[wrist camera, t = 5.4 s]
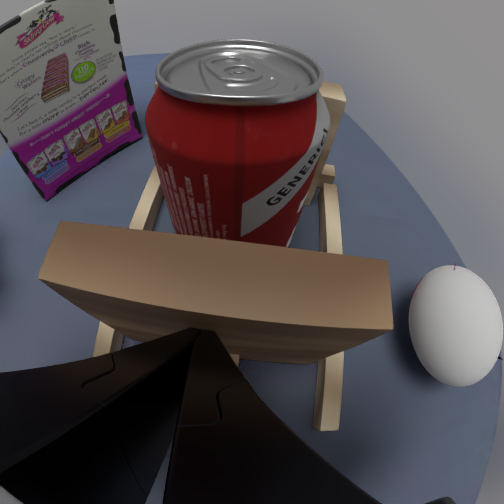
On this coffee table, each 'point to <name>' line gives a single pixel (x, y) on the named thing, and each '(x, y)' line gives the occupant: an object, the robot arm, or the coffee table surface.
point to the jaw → (221, 290)
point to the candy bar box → (64, 90)
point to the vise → (329, 242)
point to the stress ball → (455, 325)
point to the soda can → (237, 138)
